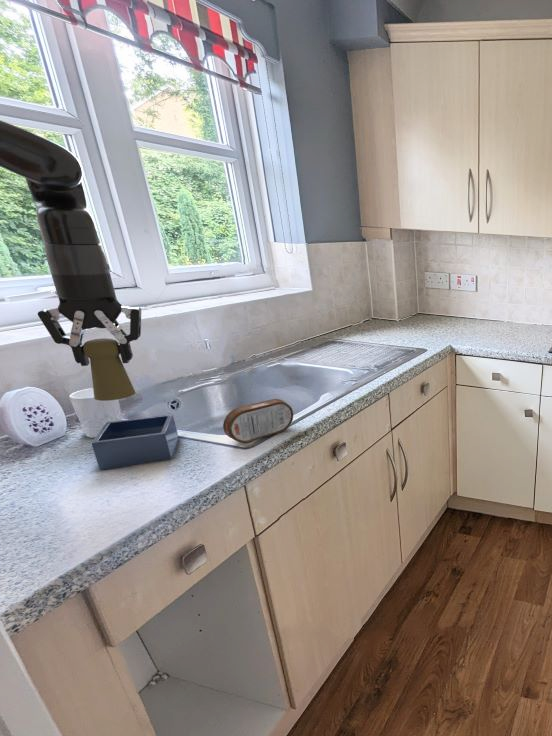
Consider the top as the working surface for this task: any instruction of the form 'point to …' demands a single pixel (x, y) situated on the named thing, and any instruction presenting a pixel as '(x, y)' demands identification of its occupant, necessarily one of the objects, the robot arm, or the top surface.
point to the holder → (135, 441)
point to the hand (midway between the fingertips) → (106, 363)
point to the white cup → (94, 411)
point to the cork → (107, 370)
